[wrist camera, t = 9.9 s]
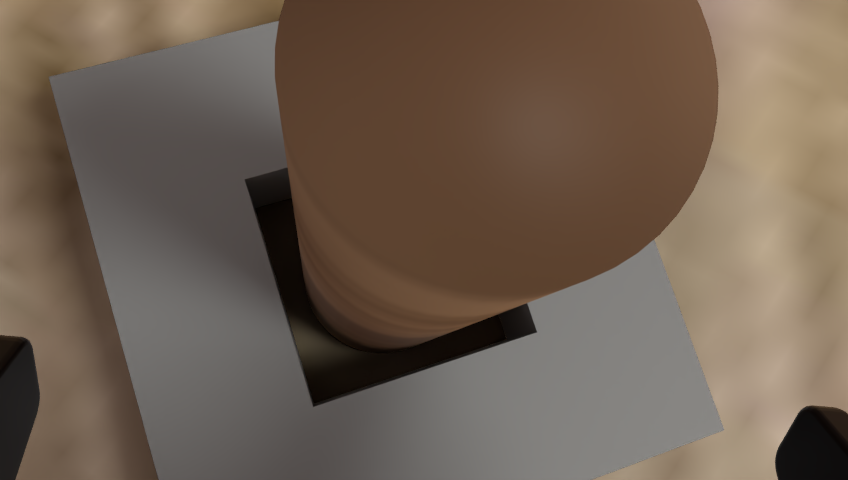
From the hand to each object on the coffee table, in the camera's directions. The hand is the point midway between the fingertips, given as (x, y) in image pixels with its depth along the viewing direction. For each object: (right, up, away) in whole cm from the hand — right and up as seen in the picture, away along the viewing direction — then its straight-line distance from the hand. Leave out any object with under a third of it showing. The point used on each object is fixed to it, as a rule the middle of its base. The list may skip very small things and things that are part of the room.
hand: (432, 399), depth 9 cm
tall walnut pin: (-1, +1, +11) cm, 12 cm away
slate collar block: (-1, +1, +11) cm, 12 cm away
